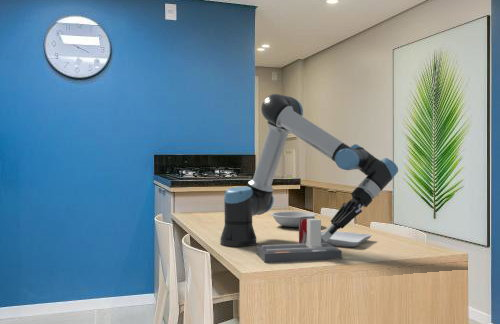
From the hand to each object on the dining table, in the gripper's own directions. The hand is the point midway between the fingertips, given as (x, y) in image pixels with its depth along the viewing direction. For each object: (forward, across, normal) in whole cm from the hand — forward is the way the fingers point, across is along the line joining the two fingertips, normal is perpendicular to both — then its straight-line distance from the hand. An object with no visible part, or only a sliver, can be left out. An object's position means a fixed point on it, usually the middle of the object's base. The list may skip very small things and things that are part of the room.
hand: (323, 239), depth 166 cm
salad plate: (-7, +23, -16) cm, 29 cm away
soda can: (+5, +16, -4) cm, 17 cm away
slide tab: (+4, 0, 0) cm, 4 cm away
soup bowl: (-2, +69, -12) cm, 70 cm away
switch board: (+11, 0, +2) cm, 11 cm away
